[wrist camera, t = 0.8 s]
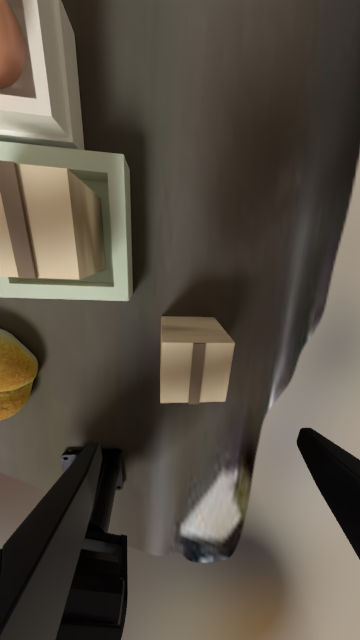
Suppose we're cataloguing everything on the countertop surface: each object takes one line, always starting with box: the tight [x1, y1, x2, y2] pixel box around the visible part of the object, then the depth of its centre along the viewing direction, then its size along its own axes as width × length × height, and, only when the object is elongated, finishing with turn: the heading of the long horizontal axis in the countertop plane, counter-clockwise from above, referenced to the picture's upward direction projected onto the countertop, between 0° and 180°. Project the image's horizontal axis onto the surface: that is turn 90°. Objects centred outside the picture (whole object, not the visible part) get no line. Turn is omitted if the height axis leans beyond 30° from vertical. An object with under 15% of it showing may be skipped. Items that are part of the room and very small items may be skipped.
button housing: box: [0, 0, 85, 150], centre depth 10 cm, size 6×6×4 cm
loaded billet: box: [0, 160, 106, 280], centre depth 12 cm, size 5×5×6 cm
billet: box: [160, 316, 235, 404], centre depth 17 cm, size 5×5×6 cm
